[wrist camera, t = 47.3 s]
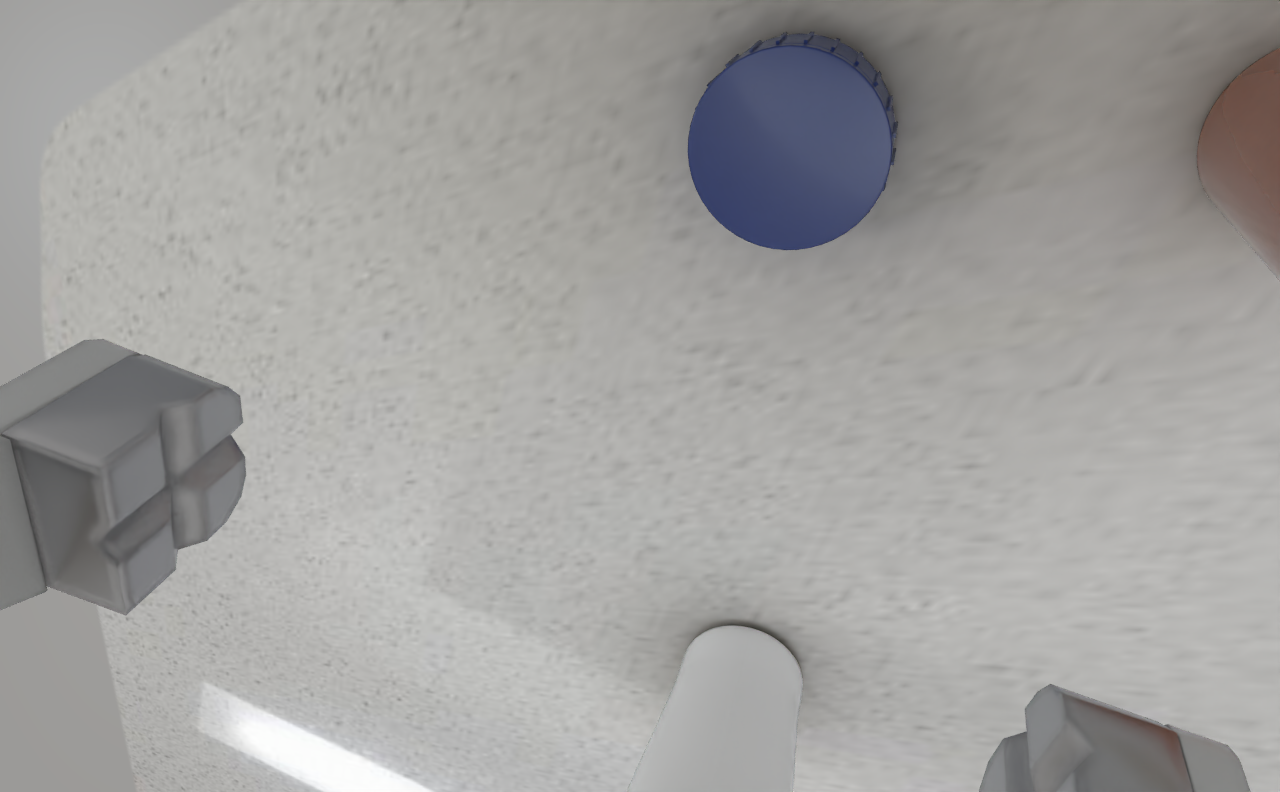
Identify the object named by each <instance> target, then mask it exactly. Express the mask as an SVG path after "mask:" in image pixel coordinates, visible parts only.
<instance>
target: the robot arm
mask: <svg viewBox="0 0 1280 792" xmlns="http://www.w3.org/2000/svg"><path fill="white" fill-rule="evenodd" d="M242 423H243V418H242V409H241V400H240V395H238V394H237V393H236V392H234V391H233V390H232V389H230V388H229V387H227V386H225V385H222V384H219V383H217V382H214V381H212V380H209V379H207V378H204V377H202V376H199V375H196V374H194V373H191V372H189V371H186V370H184V369H181V368H178V367H176V366H173V365H171V364H168V363H166V362H163V361H161V360H158V359H155V358H153V357H150V356H148V355H142V354H139V353H137V352H134V351H132V350H129V349H127V348H124V347H122V346H119V345H117V344H114V343H112V342H109V341H107V340H104V339H97V340H84V341H82V342H80V343H78V344H76V345H75V346H73V347H71V348H69V349H67V350H65V351H64V352H62V353H60V354H58V355H56V356H55V357H53V358H51V359H49V360H47V361H46V362H44V363H42V364H40V365H38V366H36V367H35V368H33V369H31V370H29V371H28V372H26V373H24V374H22V375H20V376H19V377H17V378H15V379H13V380H11V381H10V382H8V383H6V384H4V385H2V386H0V610H2V609H5V608H7V607H10V606H12V605H14V604H17V603H19V602H22V601H24V600H27V599H29V598H32V597H34V596H37V595H39V594H42V593H44V592H46V591H47V587H46V586H48V587H51V588H53V589H56V590H59V591H61V592H64V593H67V594H69V595H72V596H75V597H78V598H80V599H83V600H86V601H88V602H91V603H94V604H96V605H99V606H102V607H104V608H107V609H110V610H113V611H115V612H118V613H121V614H123V615H127V614H128V613H129V612H130V611H131V610H132V609H133V608H134V607H136V606H137V605H138V604H139V603H140V602H141V601H142V600H143V599H144V598H145V597H146V596H148V595H149V594H150V593H151V592H152V591H153V590H154V589H155V588H156V587H157V586H158V585H160V584H161V583H162V582H163V581H164V580H165V579H166V578H167V577H168V576H169V575H170V574H172V573H173V572H174V571H175V570H176V563H177V554H178V550H179V549H182V548H185V547H188V546H191V545H194V544H198V543H201V542H204V541H207V540H208V539H209V538H210V537H211V536H212V535H213V534H214V533H215V532H216V531H217V530H218V529H220V528H221V527H222V526H223V525H224V524H225V523H226V522H227V520H228V518H229V517H230V515H231V513H232V511H233V510H234V508H235V506H236V505H237V503H238V501H239V499H240V498H241V495H242V490H243V486H244V481H245V477H246V468H245V456H244V454H243V453H242V451H241V450H240V448H239V447H238V445H237V444H236V442H235V440H234V439H233V437H232V436H231V434H232V433H233V432H234V431H235V430H236V429H237V428H238V427H239V426H240V425H241V424H242ZM1025 717H1026V728H1027V732H1023V733H1020V734H1017V735H1014V736H1011V737H1008V738H1004V739H1003V740H1002V742H1001V743H1000V745H999V746H998V748H997V749H996V751H995V752H994V754H993V756H992V757H991V759H990V760H989V762H988V765H987V768H986V771H985V774H984V777H983V780H982V783H981V786H980V789H979V792H1250V789H1249V786H1248V783H1247V780H1246V777H1245V774H1244V771H1243V768H1242V765H1241V762H1240V760H1239V758H1238V757H1237V755H1236V754H1235V753H1234V752H1233V751H1232V750H1231V748H1230V747H1229V746H1228V745H1225V744H1222V743H1220V742H1217V741H1214V740H1211V739H1208V738H1205V737H1202V736H1199V735H1196V734H1194V733H1191V732H1188V731H1185V730H1182V729H1179V728H1176V727H1173V726H1170V725H1163V724H1161V723H1159V722H1157V721H1154V720H1151V719H1148V718H1146V717H1143V716H1140V715H1137V714H1134V713H1131V712H1129V711H1126V710H1123V709H1120V708H1117V707H1114V706H1112V705H1109V704H1106V703H1103V702H1100V701H1097V700H1095V699H1092V698H1089V697H1086V696H1083V695H1080V694H1078V693H1075V692H1072V691H1069V690H1066V689H1063V688H1061V687H1058V686H1055V685H1052V684H1049V685H1048V686H1046V687H1045V688H1043V689H1041V690H1040V691H1038V692H1037V693H1036V695H1035V696H1034V697H1033V699H1032V700H1031V701H1030V703H1029V704H1028V705H1027V707H1026V708H1025Z"/></svg>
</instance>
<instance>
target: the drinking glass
mask: <svg viewBox="0 0 1280 792" xmlns="http://www.w3.org/2000/svg"><path fill="white" fill-rule="evenodd" d="M802 690H803V680H802V674H801V670H800V667H799V665H798V663H797V661H796V659H795V658H794V656H793V655H792V653H791V652H790V651H789V650H788V649H787V648H786V647H785V646H784V645H783V644H782V643H781V642H779V641H778V640H777V639H775V638H774V637H772V636H770V635H768V634H766V633H764V632H762V631H759V630H756V629H753V628H749V627H744V626H732V625H730V626H721V627H716V628H713V629H710V630H707V631H705V632H703V633H702V634H700V635H699V636H698V637H696V638H695V639H694V640H693V641H692V642H691V644H690V645H689V647H688V648H687V650H686V652H685V654H684V657H683V660H682V663H681V666H680V669H679V672H678V675H677V678H676V681H675V683H674V686H673V688H672V690H671V692H670V695H669V697H668V699H667V702H666V704H665V706H664V708H663V711H662V713H661V715H660V718H659V720H658V722H657V724H656V727H655V729H654V731H653V733H652V736H651V738H650V740H649V742H648V744H647V747H646V749H645V751H644V753H643V756H642V758H641V760H640V762H639V764H638V767H637V769H636V771H635V773H634V775H633V778H632V780H631V782H630V784H629V787H628V789H627V791H626V792H793V789H794V772H795V756H796V741H797V727H798V716H799V709H800V703H801V697H802Z"/></svg>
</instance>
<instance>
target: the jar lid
mask: <svg viewBox="0 0 1280 792" xmlns="http://www.w3.org/2000/svg"><path fill="white" fill-rule="evenodd" d="M725 66H726V67H727V68H726V69H725V70H724V71H722V72H721V73H720V74H718V75H717V76H716V77H715V78H714V79H713V80H712V81H711V82H709V83H708V85H707V86H708V88H707V89H706V91H705V93H704V94H703V96H702V98H701V99H700V101H699V103H698V105H697V107H696V108H695V112H694V115H693V118H692V122H691V125H690V131H689V137H688V159H689V167H690V171H691V176H692V179H693V182H694V185H695V187H696V190H697V192H698V194H699V196H700V198H701V200H702V201H703V203H704V204H705V206H706V207H707V209H708V210H709V212H710V213H711V214H712V215H713V216H714V217H715V218H716V219H717V221H719V222H720V223H721V224H722V225H723V226H724V227H725V228H726V229H728V230H729V231H731V232H732V233H734V234H735V235H737V236H738V237H740V238H742V239H744V240H746V241H748V242H751V243H754V244H756V245H759V246H763V247H767V248H772V249H781V250H799V249H805V248H811V247H815V246H818V245H822V244H825V243H827V242H829V241H832V240H834V239H836V238H838V237H839V236H841V235H843V234H845V233H846V232H848V231H849V230H850V229H852V228H853V227H854V226H856V225H857V224H858V223H859V222H860V221H861V220H862V219H863V218H864V217H865V216H866V215H867V213H869V211H870V210H871V208H872V207H873V206H874V204H875V203H876V201H877V199H878V198H879V196H880V194H881V192H882V191H884V189H885V186H886V181H887V177H888V174H889V170H890V166H891V165H894V159H895V152H896V148H893V147H894V140H895V138H896V134H897V128H898V122H895V117H894V110H893V106H892V102H893V96H892V95H891V96H890V95H889V93H888V91H887V88H886V86H885V84H884V82H883V81H882V79H881V72H880V71H879V72H878V73H877V71H876V70H875V69H874V68H873V66H872V65H871V64H870V63H869V62H868V61H867V60H866V59H865V58H864V57H863V53H862V52H860V53H858V52H856V51H855V50H853V49H852V48H851V47H849V46H847V45H845V44H843V43H841V42H840V39H838V38H837V39H836V40H834V39H831V38H828V37H824V36H819V35H814V32H810V33H809V34H790V35H787V32H785V33H783V34H782V35H781V36H779V37H775V38H772V39H769V40H766V41H764V42H762V41H761V40H759V41H758V42H756V43H755V44H754V45H753V46H752V47H751V48H750V49H749V50H747V51H746V52H745V53H743V54H742V55H740V56H739V54H737V55H736V56H735V57H734V58H733V59H731V60H730V61H729V62H728V63H727V64H726V65H725Z"/></svg>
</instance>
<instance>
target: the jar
mask: <svg viewBox="0 0 1280 792" xmlns="http://www.w3.org/2000/svg"><path fill="white" fill-rule="evenodd" d="M1197 168H1198V173H1199V178H1200V181H1201V184H1202V186H1203V189H1204V191H1205V193H1206V194H1207V196H1208V198H1209V199H1210V201H1211V202H1212V203H1213V204H1214V205H1215V207H1216V208H1217V209H1218V210H1219V211H1220V212H1221V214H1222V215H1223V216H1224V217H1225V218H1226V219H1227V221H1228V222H1229V223H1230V224H1231V225H1232V226H1233V228H1234V229H1235V230H1236V231H1237V232H1238V233H1239V235H1240V236H1241V237H1242V238H1243V239H1244V240H1245V242H1246V243H1247V244H1248V245H1249V246H1250V247H1251V249H1252V250H1253V251H1254V252H1255V253H1256V254H1257V255H1258V257H1259V258H1260V259H1261V260H1262V261H1263V262H1264V264H1265V265H1266V266H1267V267H1268V268H1269V269H1270V271H1271V272H1272V273H1273V274H1274V275H1275V276H1276V278H1277V279H1278V280H1279V281H1280V48H1279V49H1277V50H1275V51H1273V52H1271V53H1269V54H1268V55H1266V56H1264V57H1263V58H1261V59H1259V60H1258V61H1256V62H1255V63H1254V64H1252V65H1251V66H1250V67H1248V68H1247V69H1246V70H1244V71H1243V72H1242V73H1241V74H1240V75H1239V76H1238V77H1237V78H1236V79H1234V80H1233V81H1232V83H1231V84H1230V85H1229V86H1228V87H1227V88H1226V89H1225V90H1224V91H1223V93H1222V94H1221V95H1220V97H1219V98H1218V100H1217V101H1216V102H1215V104H1214V105H1213V107H1212V109H1211V111H1210V112H1209V114H1208V116H1207V118H1206V121H1205V123H1204V125H1203V128H1202V131H1201V134H1200V138H1199V142H1198V150H1197Z"/></svg>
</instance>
